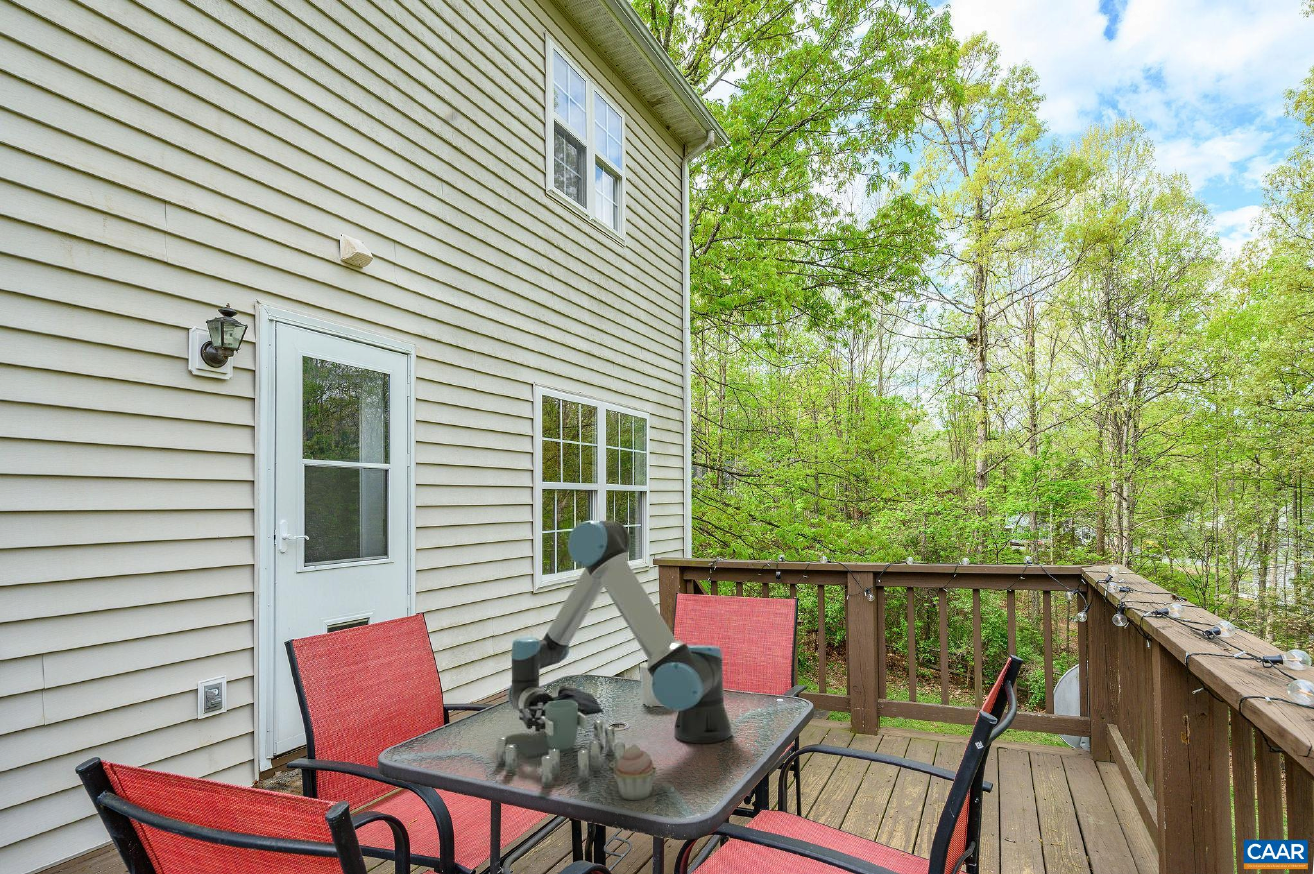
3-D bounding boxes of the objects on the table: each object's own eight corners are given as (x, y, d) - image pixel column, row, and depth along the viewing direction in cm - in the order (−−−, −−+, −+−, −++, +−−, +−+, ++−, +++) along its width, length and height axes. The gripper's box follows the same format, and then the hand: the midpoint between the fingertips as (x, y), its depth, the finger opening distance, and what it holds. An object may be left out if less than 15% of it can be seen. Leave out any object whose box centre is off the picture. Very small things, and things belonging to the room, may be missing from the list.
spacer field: (496, 763, 162) (496, 737, 163) (615, 740, 177) (615, 716, 178) (525, 795, 143) (525, 764, 143) (656, 766, 158) (655, 739, 159)
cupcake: (662, 787, 145) (661, 738, 146) (651, 805, 136) (650, 752, 137) (621, 784, 147) (620, 736, 148) (607, 801, 138) (606, 750, 139)
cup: (551, 755, 157) (551, 710, 158) (540, 745, 164) (540, 702, 165) (582, 749, 161) (582, 705, 162) (571, 740, 167) (571, 698, 169)
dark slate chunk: (555, 719, 201) (555, 702, 201) (546, 701, 222) (546, 686, 222) (606, 714, 205) (605, 697, 206) (592, 697, 226) (592, 682, 226)
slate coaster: (513, 745, 176) (513, 743, 176) (556, 737, 182) (556, 735, 182) (527, 758, 166) (527, 756, 166) (573, 749, 171) (573, 747, 171)
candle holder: (671, 707, 208) (670, 667, 210) (639, 708, 208) (639, 667, 210) (671, 699, 218) (670, 660, 220) (641, 700, 218) (640, 661, 220)
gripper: (573, 713, 183) (609, 735, 163) (498, 726, 173) (526, 751, 153) (573, 684, 184) (608, 702, 164) (498, 695, 174) (526, 716, 154)
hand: (568, 726), depth 159 cm, fingers closed on cup, 8 cm apart
